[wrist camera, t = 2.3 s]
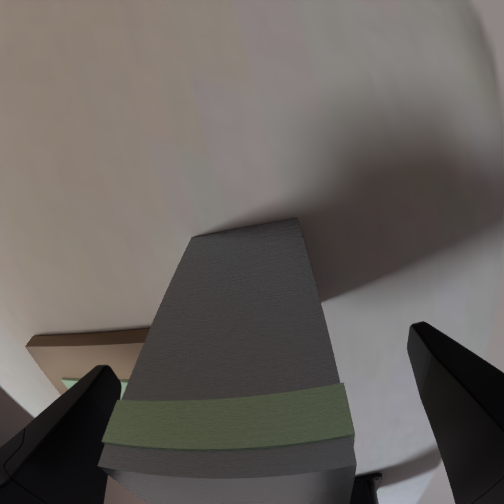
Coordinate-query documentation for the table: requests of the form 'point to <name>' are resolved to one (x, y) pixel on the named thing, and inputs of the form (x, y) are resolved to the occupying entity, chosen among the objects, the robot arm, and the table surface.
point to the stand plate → (86, 355)
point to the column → (236, 383)
